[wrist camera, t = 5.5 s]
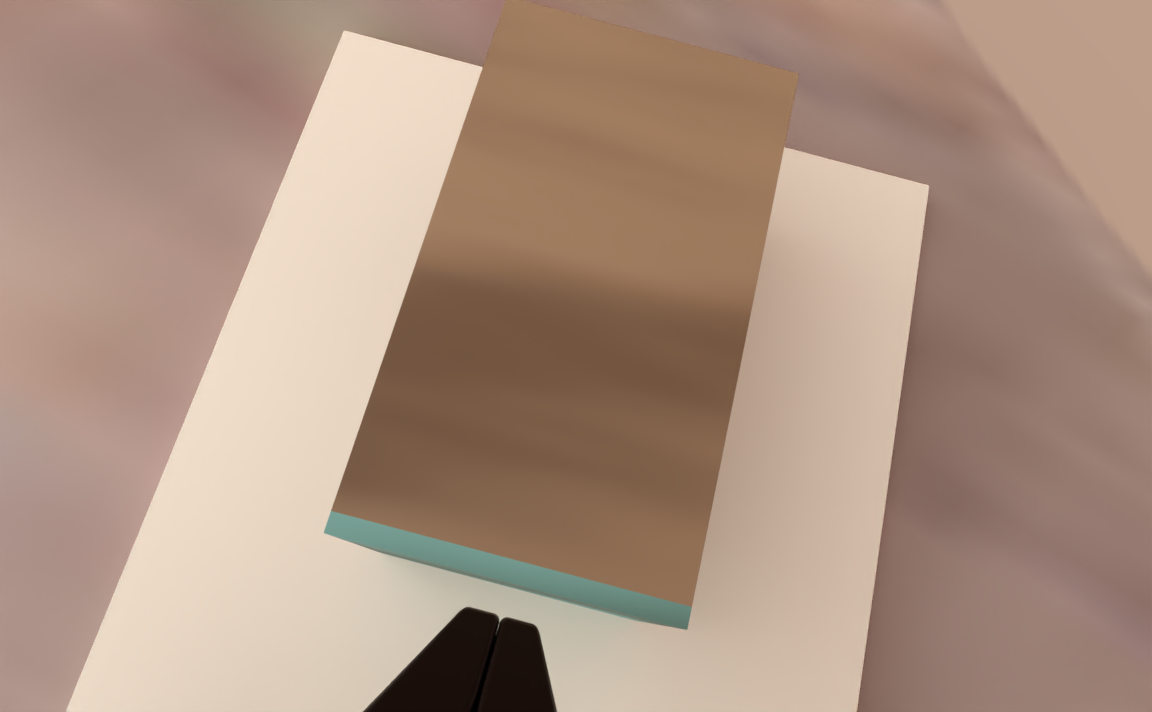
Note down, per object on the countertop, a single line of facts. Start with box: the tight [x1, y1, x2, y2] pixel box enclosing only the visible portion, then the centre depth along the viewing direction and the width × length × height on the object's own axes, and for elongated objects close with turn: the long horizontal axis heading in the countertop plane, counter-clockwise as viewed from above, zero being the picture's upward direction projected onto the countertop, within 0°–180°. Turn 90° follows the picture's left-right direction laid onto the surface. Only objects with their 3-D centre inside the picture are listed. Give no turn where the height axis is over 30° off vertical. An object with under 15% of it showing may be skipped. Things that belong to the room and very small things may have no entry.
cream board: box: [66, 31, 929, 712], centre depth 17 cm, size 17×14×1 cm
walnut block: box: [324, 0, 799, 630], centre depth 14 cm, size 5×5×9 cm
